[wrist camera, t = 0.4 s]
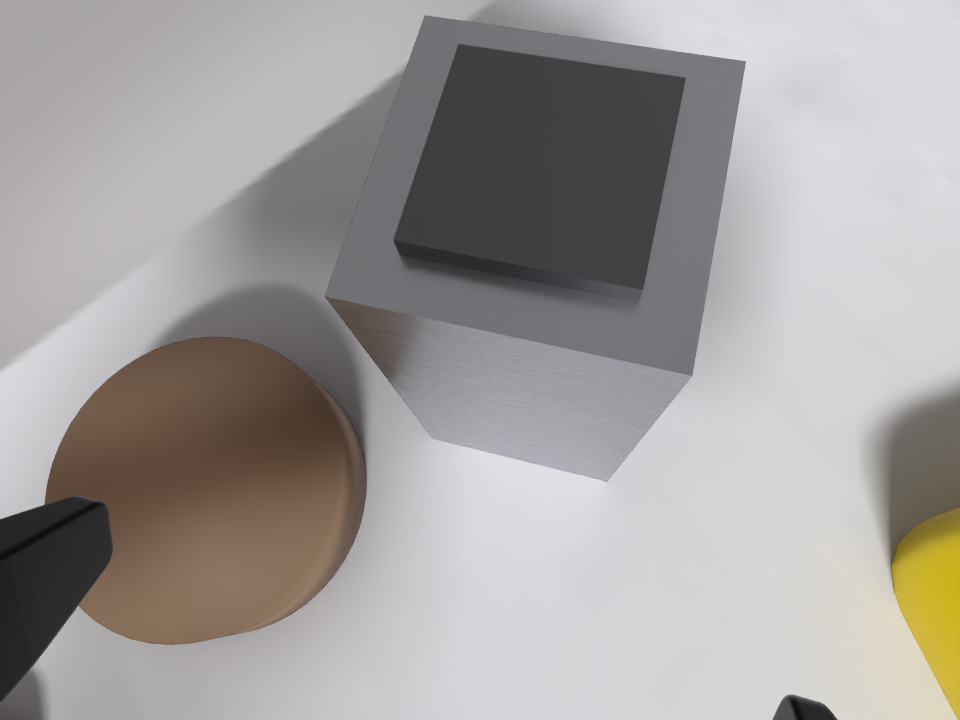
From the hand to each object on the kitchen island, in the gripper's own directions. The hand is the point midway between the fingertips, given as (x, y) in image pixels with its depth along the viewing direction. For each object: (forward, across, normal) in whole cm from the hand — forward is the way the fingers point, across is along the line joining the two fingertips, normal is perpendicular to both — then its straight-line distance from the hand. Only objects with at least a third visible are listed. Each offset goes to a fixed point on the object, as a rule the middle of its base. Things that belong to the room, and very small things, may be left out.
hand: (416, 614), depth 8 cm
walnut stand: (+10, +9, +8) cm, 16 cm away
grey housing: (+14, 0, +3) cm, 15 cm away
